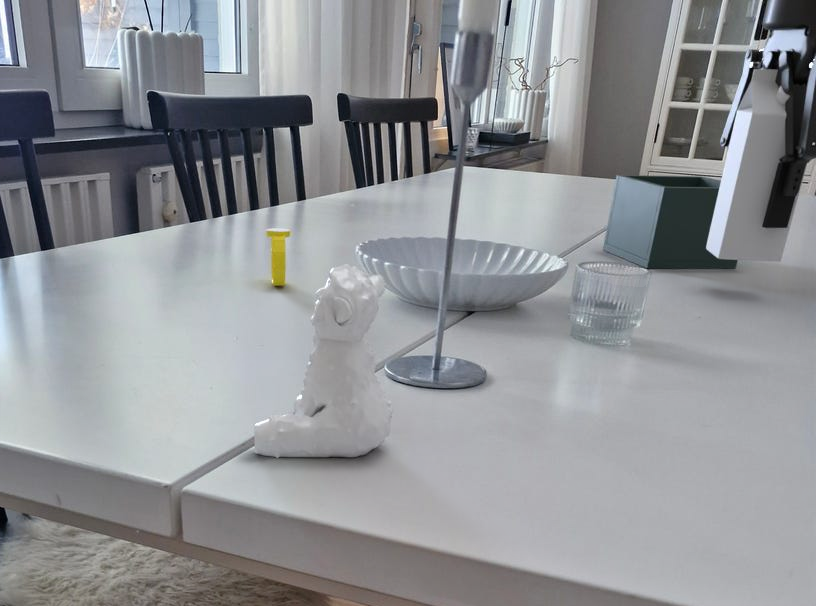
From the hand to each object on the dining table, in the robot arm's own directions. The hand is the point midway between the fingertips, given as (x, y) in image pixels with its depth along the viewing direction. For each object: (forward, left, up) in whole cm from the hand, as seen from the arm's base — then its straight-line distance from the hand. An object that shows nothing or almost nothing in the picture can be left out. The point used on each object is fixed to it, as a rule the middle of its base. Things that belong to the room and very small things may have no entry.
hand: (750, 221), depth 106 cm
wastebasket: (+22, -4, -8) cm, 24 cm away
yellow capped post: (+7, +55, -8) cm, 56 cm away
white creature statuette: (-44, +59, -8) cm, 74 cm away
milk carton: (0, 0, -4) cm, 4 cm away
